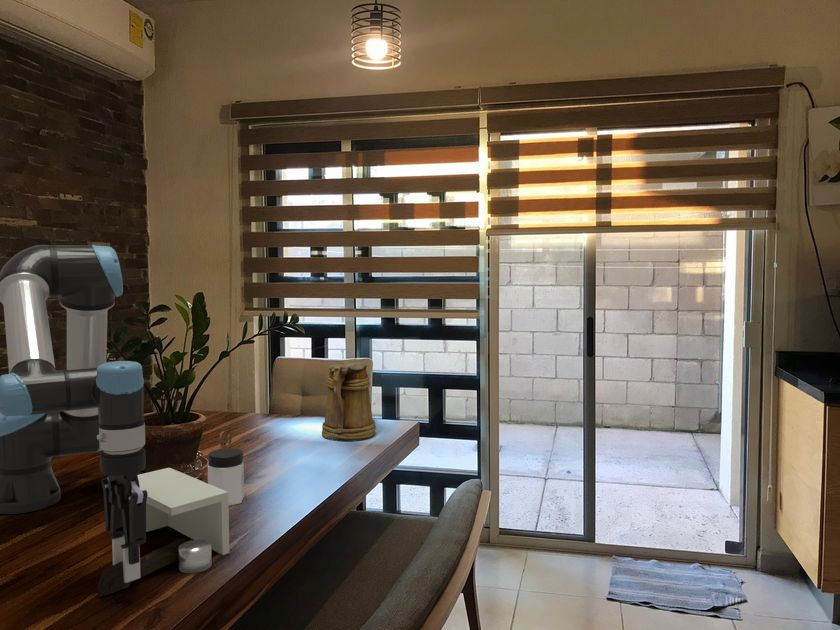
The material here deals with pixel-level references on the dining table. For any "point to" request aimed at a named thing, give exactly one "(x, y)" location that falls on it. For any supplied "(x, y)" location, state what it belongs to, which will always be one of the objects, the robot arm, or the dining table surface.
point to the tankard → (348, 402)
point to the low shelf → (186, 507)
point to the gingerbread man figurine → (225, 441)
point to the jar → (227, 473)
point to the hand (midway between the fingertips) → (126, 575)
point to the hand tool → (151, 562)
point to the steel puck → (195, 556)
